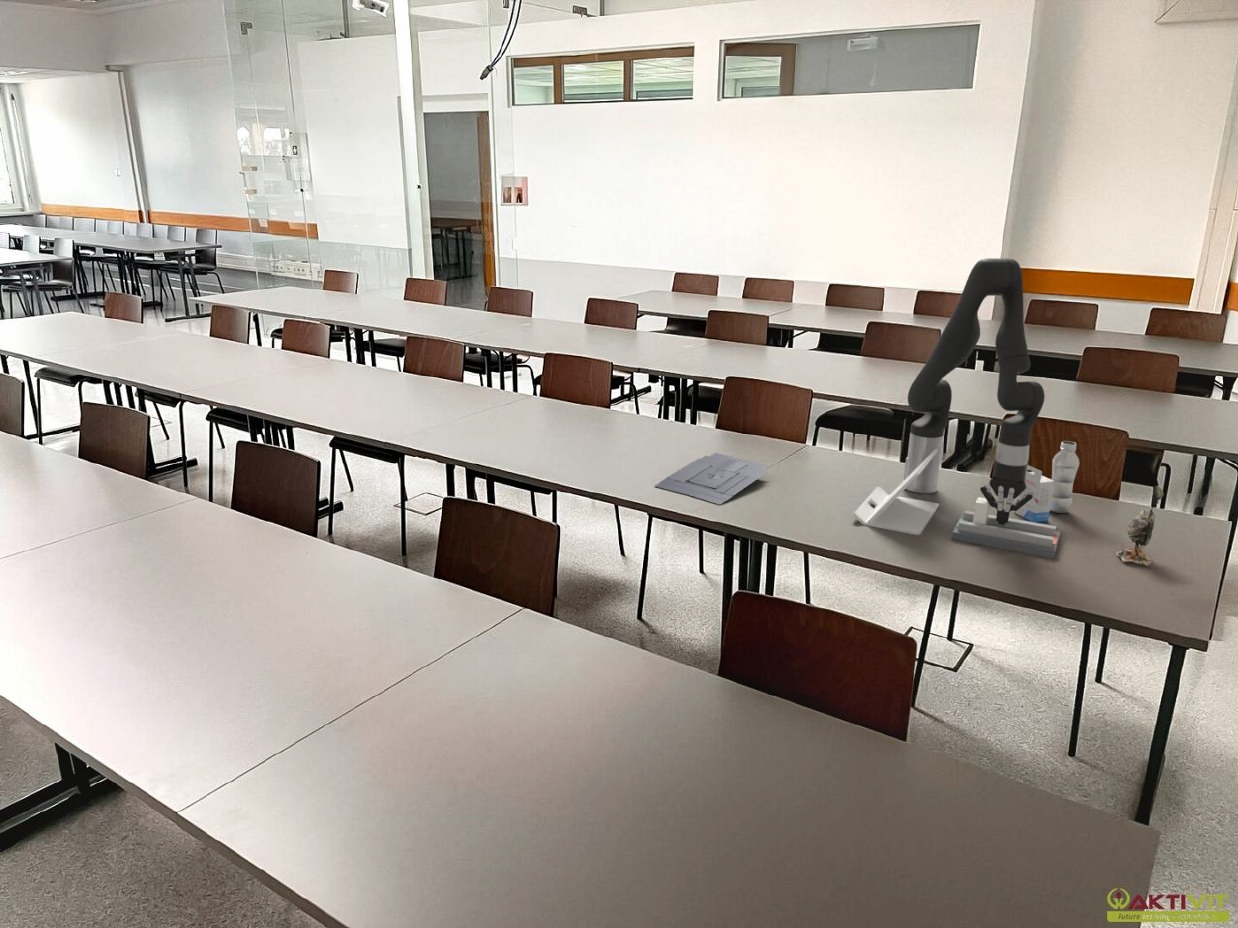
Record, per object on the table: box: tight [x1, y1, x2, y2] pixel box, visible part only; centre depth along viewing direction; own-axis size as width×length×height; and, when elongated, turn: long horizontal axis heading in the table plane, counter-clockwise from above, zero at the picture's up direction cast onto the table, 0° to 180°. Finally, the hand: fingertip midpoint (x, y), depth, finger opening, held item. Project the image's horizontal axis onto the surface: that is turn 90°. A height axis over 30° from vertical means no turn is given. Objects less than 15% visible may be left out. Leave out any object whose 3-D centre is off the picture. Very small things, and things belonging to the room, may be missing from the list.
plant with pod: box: [1116, 485, 1164, 567], centre depth 210 cm, size 8×11×20 cm
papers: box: [654, 452, 771, 506], centre depth 265 cm, size 24×30×4 cm
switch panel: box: [951, 510, 1061, 559], centre depth 224 cm, size 24×14×4 cm, turn 60°
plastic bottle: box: [1050, 440, 1080, 514], centre depth 240 cm, size 6×7×20 cm
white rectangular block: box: [973, 497, 991, 525], centre depth 226 cm, size 3×4×7 cm
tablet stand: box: [852, 449, 940, 536], centre depth 239 cm, size 18×25×17 cm
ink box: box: [1013, 464, 1055, 523], centre depth 237 cm, size 8×5×15 cm, turn 14°
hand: (1001, 523), depth 224 cm, fingers closed
